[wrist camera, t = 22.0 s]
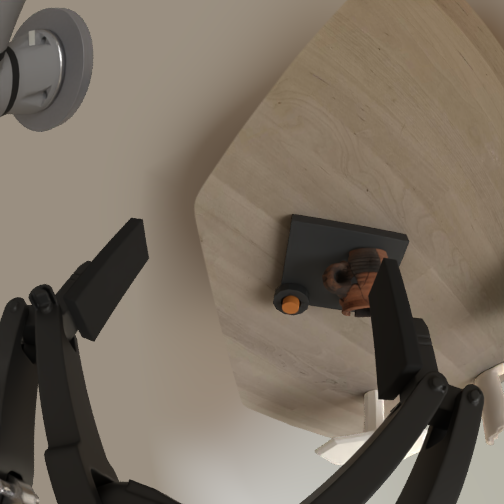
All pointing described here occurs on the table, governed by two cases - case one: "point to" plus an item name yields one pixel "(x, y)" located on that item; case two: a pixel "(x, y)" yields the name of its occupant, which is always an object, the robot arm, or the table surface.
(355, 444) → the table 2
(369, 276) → the pottery mug
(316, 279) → the scale
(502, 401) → the candle
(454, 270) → the table surface
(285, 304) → the scale button
